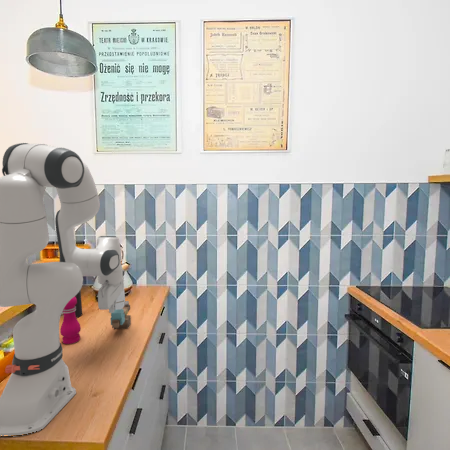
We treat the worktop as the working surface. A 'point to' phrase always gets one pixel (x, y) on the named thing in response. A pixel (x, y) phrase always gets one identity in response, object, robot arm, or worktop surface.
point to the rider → (118, 316)
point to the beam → (127, 318)
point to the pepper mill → (70, 323)
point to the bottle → (78, 305)
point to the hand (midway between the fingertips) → (112, 311)
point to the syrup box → (120, 300)
